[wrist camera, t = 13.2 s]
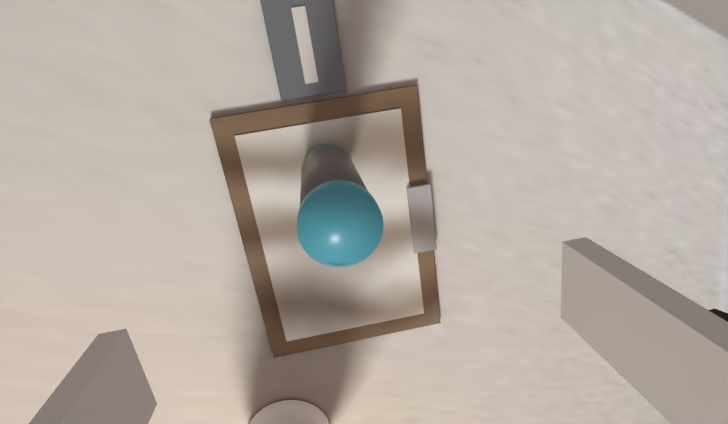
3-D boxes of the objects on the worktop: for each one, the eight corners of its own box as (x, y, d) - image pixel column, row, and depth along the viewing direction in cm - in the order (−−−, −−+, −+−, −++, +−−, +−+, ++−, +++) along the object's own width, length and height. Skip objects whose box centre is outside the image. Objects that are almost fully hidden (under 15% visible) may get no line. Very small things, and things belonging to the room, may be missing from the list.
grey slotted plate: (260, -2, 29) (259, -3, 29) (330, -11, 30) (330, -13, 29) (281, 100, 32) (281, 100, 31) (346, 89, 32) (346, 90, 31)
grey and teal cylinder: (295, 145, 32) (288, 194, 19) (348, 135, 33) (377, 178, 19) (305, 195, 34) (306, 274, 21) (356, 186, 34) (388, 258, 21)
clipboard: (210, 118, 31) (208, 119, 30) (418, 84, 33) (421, 85, 32) (274, 354, 39) (273, 360, 38) (441, 320, 40) (443, 325, 39)
